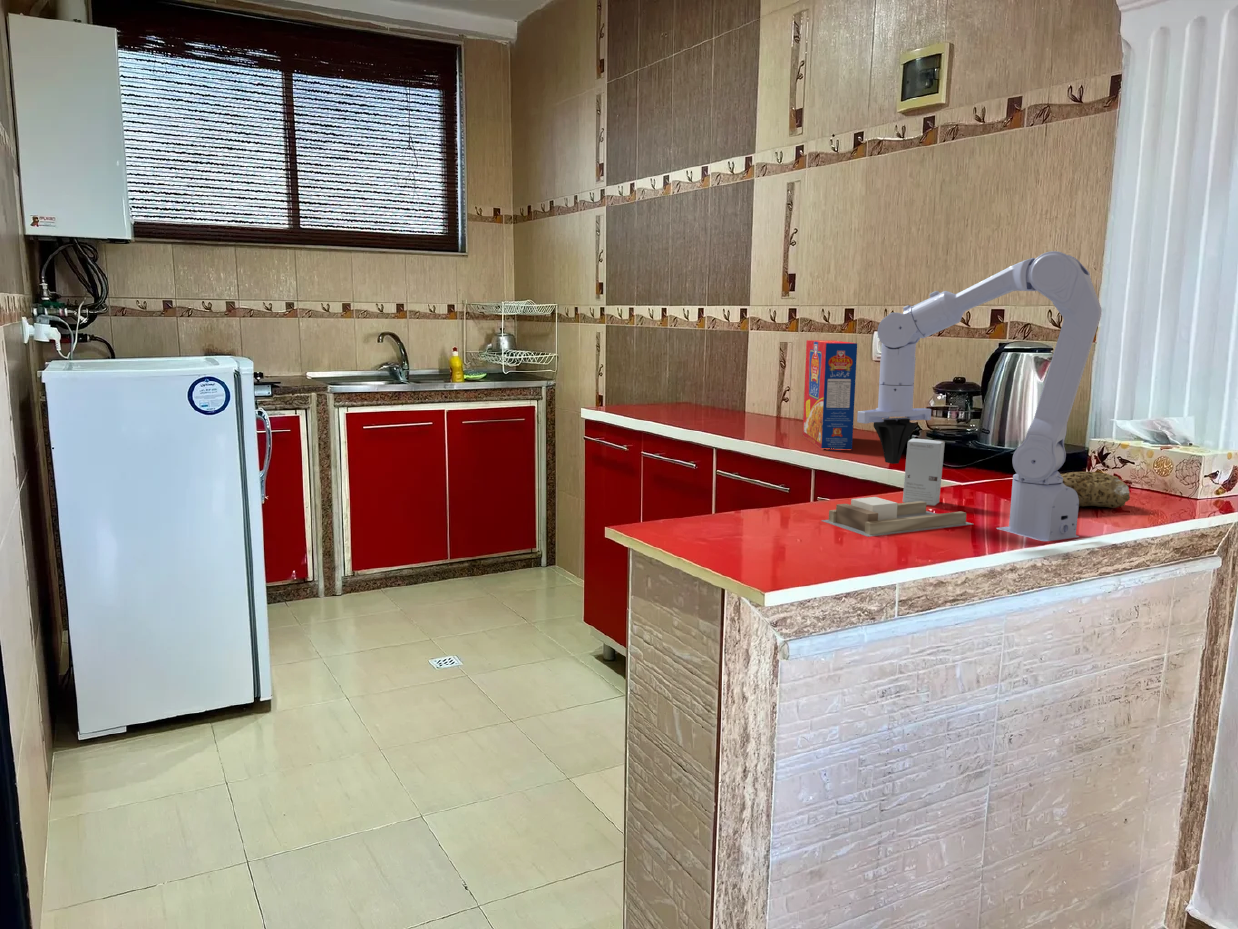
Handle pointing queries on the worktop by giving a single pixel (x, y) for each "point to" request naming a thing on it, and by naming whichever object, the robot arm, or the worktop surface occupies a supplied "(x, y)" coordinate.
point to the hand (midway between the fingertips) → (892, 462)
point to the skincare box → (923, 471)
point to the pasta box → (829, 393)
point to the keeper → (877, 507)
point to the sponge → (1097, 489)
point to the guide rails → (872, 525)
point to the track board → (897, 531)
